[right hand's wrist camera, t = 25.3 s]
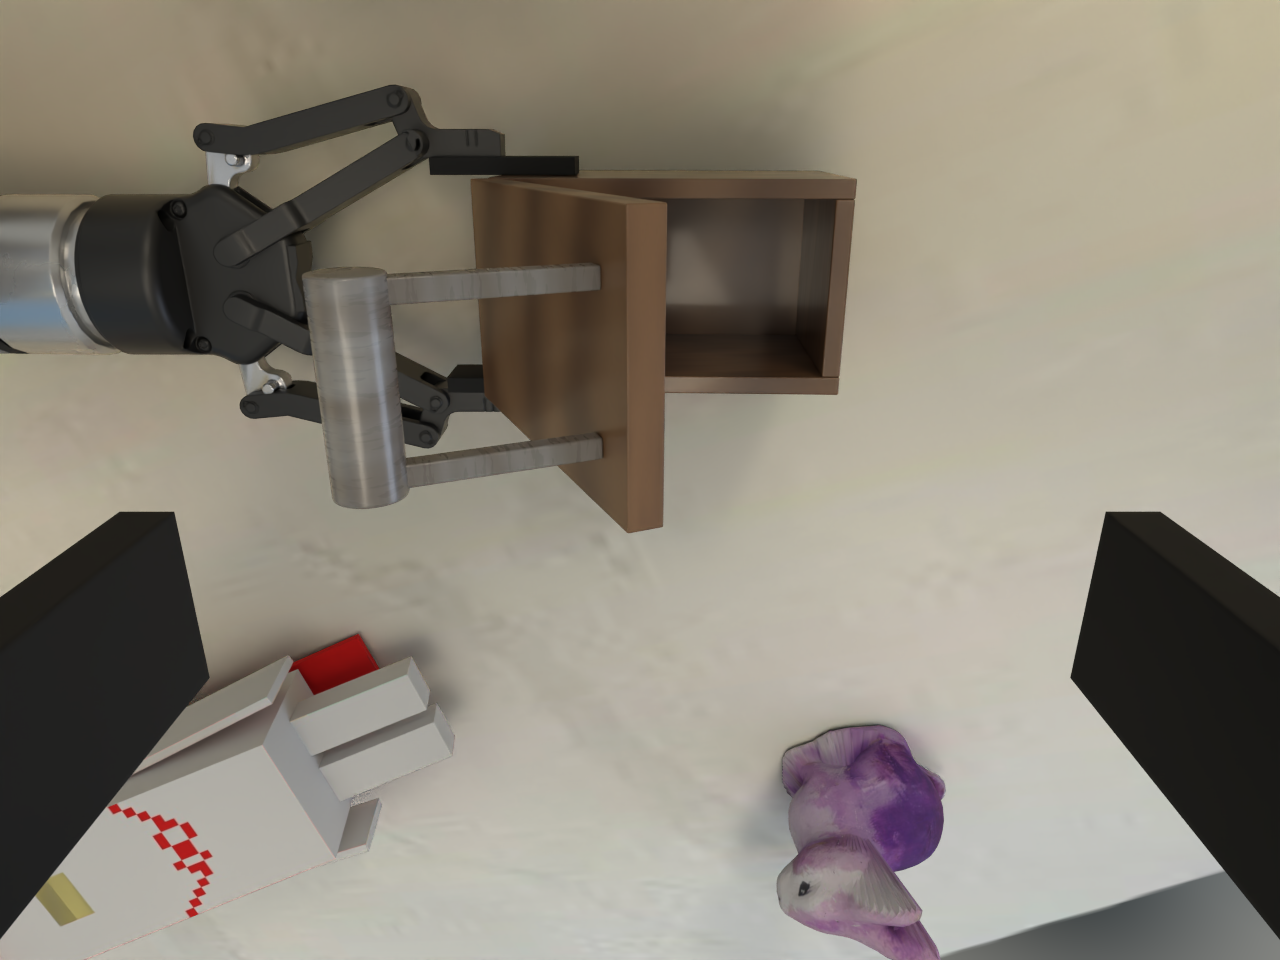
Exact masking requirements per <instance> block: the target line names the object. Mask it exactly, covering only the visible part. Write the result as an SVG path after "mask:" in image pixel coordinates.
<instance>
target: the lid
mask: <svg viewBox="0 0 1280 960" xmlns="http://www.w3.org/2000/svg"><path fill="white" fill-rule="evenodd" d="M471 195H472V210H473V226H474V241H475V256H476V269H470V270H452V271H435V272H417V273H400V274H387V272H386V271H385V270H382V269H379V268H370V267H339V268H326V269H318V270H313V271H309V272H306V273H304V274H303V275H302V282H303V290H304V297H305V304H306V311H307V318H308V326H309V333H310V340H311V347H312V355H313V362H314V369H315V376H316V383H317V391H318V398H319V405H320V412H321V420H322V427H323V434H324V441H325V448H326V456H327V463H328V470H329V477H330V484H331V492H332V499H333V500H334V502H335V503H336V504H338V505H340V506H342V507H346V508H353V509H369V508H377V507H383V506H387V505H390V504H393V503H396V502H398V501H400V500H402V499H403V498H405V497H406V496H407V495H408V493H409V488H412V487H419V486H425V485H432V484H438V483H445V482H452V481H458V480H465V479H471V478H478V477H485V476H491V475H498V474H504V473H511V472H518V471H524V470H531V469H537V468H544V467H551V466H558V467H559V468H560V469H561V470H562V471H563V472H564V473H565V474H566V475H568V476H569V477H570V478H571V479H572V480H573V481H574V482H575V483H576V484H577V485H578V486H579V487H580V488H581V489H582V490H583V491H584V492H585V493H586V494H587V495H588V496H589V497H590V498H591V499H593V500H594V501H595V502H596V503H597V504H598V505H599V506H600V507H601V508H602V509H603V510H604V511H605V512H606V513H607V514H608V515H609V516H610V517H611V518H612V519H613V520H614V521H615V522H616V523H618V524H619V525H620V526H621V527H622V528H623V529H624V530H625V531H626V532H627V533H633V532H638V531H643V530H649V529H654V528H659V527H663V491H664V411H665V332H666V252H667V203H666V202H660V201H653V200H646V199H639V198H632V197H625V196H618V195H611V194H604V193H597V192H590V191H583V190H576V189H569V188H562V187H555V186H548V185H541V184H534V183H527V182H520V181H513V180H506V179H499V178H481V179H471ZM468 299H478V301H479V317H480V332H481V347H482V362H483V377H484V392H485V397H486V398H487V399H488V400H489V401H490V402H492V403H493V404H494V405H495V406H496V407H497V408H498V409H499V410H500V411H501V412H502V413H503V414H504V415H505V416H506V417H507V418H508V419H509V420H510V421H511V422H512V423H513V424H514V425H515V426H517V427H518V428H519V429H520V430H521V431H522V432H523V433H524V434H525V435H526V436H527V437H528V438H529V439H530V440H531V441H527V442H519V443H512V444H505V445H498V446H490V447H483V448H476V449H469V450H461V451H454V452H447V453H440V454H433V455H425V456H418V457H411V458H406V452H405V442H404V432H403V423H402V413H401V403H400V394H399V384H398V374H397V364H396V355H395V345H394V335H393V326H392V316H391V306H390V305H397V304H411V303H425V302H440V301H454V300H468Z"/></svg>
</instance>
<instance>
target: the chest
mask: <svg viewBox="0 0 1280 960" xmlns="http://www.w3.org/2000/svg"><path fill="white" fill-rule="evenodd" d="M490 178H499V179H506V180H513V181H520V182H527V183H534V184H541V185H548V186H555V187H562V188H569V189H576V190H583V191H590V192H597V193H604V194H611V195H618V196H625V197H632V198H639V199H646V200H653V201H660V202H666V203H667V252H666V332H665V393H731V394H815V395H837V394H838V388H839V376H840V365H841V353H842V342H843V330H844V319H845V308H846V296H847V285H848V274H849V262H850V251H851V240H852V228H853V217H854V206H855V200H854V199H855V196H856V184H857V179H854V178H849V177H845V176H840V175H835V174H831V173H826V172H822V171H706V170H579V173H578V174H576V175H499V176H495V177H490Z"/></svg>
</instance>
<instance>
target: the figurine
mask: <svg viewBox="0 0 1280 960" xmlns="http://www.w3.org/2000/svg"><path fill="white" fill-rule="evenodd" d="M782 767H783V769H782V770H783V772H782V774H783V775H782V777H783V778H782V780H783V784H784V788H786V789H787V793H788V794H789V795H790V796H791V797H792V798H793V799H792V801H791V803H790V807H789V829H790V832H791V836H792V838H793V841H794V844H795V846H796V848H797V851H798V855H797V856H796V857H795V858H794V859H793V860H792V861H791V862H790V863H789V864H788V865H787V866H786V867H785V868H784V869H783V870H782V872H781V873H780V874H779V876H778V878H777V894H778V898H779V904H780V907H781V909H782V910H783V912H784V913H785V914H786V915H788V916H790V917H792V918H793V919H795V920H796V921H798V922H800V923H802V924H803V925H805V926H807V927H810V928H812V929H814V930H817V931H820V932H823V933H827V934H833V935H838V936H844V937H848V938H851V939H854V940H857V941H859V942H861V943H863V944H865V945H866V946H868V947H870V948H872V949H874V950H876V951H878V952H879V953H881V954H882V955H884V956H885V957H887V958H889V959H892V960H940V956H939V952H938V949H937V947H936V945H935V943H934V942H933V940H932V939H931V937H930V936H929V934H928V933H927V931H926V930H925V928H924V927H923V925H922V924H921V922H920V918H921V914H922V909H921V908H920V907H919V905H918V904H917V903H916V901H915V900H914V899H913V897H912V896H911V895H910V893H909V892H908V890H907V889H906V888H905V886H904V885H903V884H902V882H901V881H900V880H899V878H898V877H897V875H896V874H895V873H894V872H895V871H900V870H904V869H907V868H910V867H913V866H915V865H917V864H919V863H921V862H923V861H924V860H926V859H927V858H928V857H930V856H931V855H932V853H933V852H934V851H935V849H936V848H937V846H938V844H939V841H940V838H941V834H942V830H943V823H944V816H943V806H942V803H941V799H942V798H943V797H944V796H945V792H946V787H945V783H944V781H943V780H942V779H941V778H940V776H938V775H937V774H935V773H933V772H931V771H928V770H926V769H925V768H923V767H921V766H920V765H918V764H916V762H915V761H914V759H913V757H912V754H911V751H910V749H909V747H908V744H907V742H906V741H905V739H904V738H903V736H902V735H901V734H900V733H899V732H897V731H895V730H893V729H891V728H888V727H885V726H881V725H876V726H863V727H851V728H843V729H838V730H834V731H832V730H830V731H829V732H827V733H826V734H824V735H822V736H820V737H818V738H817V739H815V740H814V741H813V742H809V743H807V744H805V745H801V746H796V747H794V748H792V749H790V750H788V751H787V752H786V753H785V755H784V757H783V766H782Z"/></svg>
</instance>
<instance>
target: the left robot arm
mask: <svg viewBox="0 0 1280 960" xmlns="http://www.w3.org/2000/svg"><path fill="white" fill-rule="evenodd" d="M391 121H393V124H394V126H395V128H396V131H397V133H398V136H396V137H395V138H393V139H391V140H390V141H388V142H386V143H385V144H383V145H381V146H380V147H378V148H377V149H375V150H373V151H372V152H370V153H368V154H367V155H365V156H363V157H362V158H360V159H358V160H357V161H355V162H353V163H352V164H350V165H349V166H347V167H345V168H344V169H342V170H340V171H339V172H337V173H335V174H334V175H332V176H330V177H329V178H327V179H325V180H324V181H322V182H321V183H319V184H317V185H316V186H314V187H312V188H311V189H309V190H307V191H306V192H304V193H302V194H301V195H299V196H297V197H296V198H294V199H292V200H290V201H288V202H285V203H283V204H282V205H280V206H278V207H276V208H275V209H271V208H270V207H268V206H267V205H265V204H264V203H263V202H261V201H260V200H258V199H257V198H255V197H254V196H252V195H251V194H249V193H248V192H246V191H245V190H243V189H242V188H240V187H239V186H238V180H239V178H240V176H241V175H242V174H244V173H247V172H252V171H254V170H256V168H257V167H258V165H259V155H264V154H277V153H281V152H286V151H289V150H293V149H296V148H300V147H303V146H307V145H310V144H314V143H318V142H321V141H325V140H328V139H332V138H335V137H339V136H342V135H346V134H349V133H353V132H356V131H360V130H363V129H367V128H370V127H374V126H377V125H381V124H384V123H388V122H391ZM193 138H194V142H195V143H196V145H197V146H198V147H199V148H200V149H201V150H203V151H206V163H207V176H208V185H207V186H204V187H203V188H201V189H200V190H198V191H197V192H195V193H192V194H110V195H106V196H103V197H101V198H99V197H97V196H94V195H92V194H5V195H0V353H18V354H89V355H111V354H116V353H120V352H121V351H122V352H124V353H127V354H183V355H203V354H210V355H217V356H220V357H223V358H225V359H227V360H229V361H231V362H233V363H236V364H239V368H240V371H241V375H242V379H243V382H244V386H245V390H246V393H247V396H245V397H244V398H243V399H242V400H241V402H240V409H241V411H242V413H243V414H244V415H245V416H246V417H249V418H253V419H257V418H268V417H279V416H291V417H296V418H300V419H304V420H308V421H312V422H317V423H321V424H322V420H321V412H320V405H319V398H318V391H317V383H316V382H310V381H300V380H297V381H292V379H291V375H290V374H289V373H287V372H285V371H283V370H279V369H274V368H272V367H271V366H270V365H269V364H268V363H267V361H266V359H265V357H266V356H267V355H268V354H270V353H271V352H272V351H273V350H275V349H276V348H277V347H278V346H280V345H281V344H283V345H285V346H287V347H289V348H291V349H293V350H295V351H298V352H300V353H302V354H305V355H312V347H311V340H310V333H309V326H308V318H307V311H306V304H305V297H304V290H303V282H302V275H303V274H304V273H306V272H309V271H311V267H312V259H313V255H312V247H311V241H306V238H305V237H304V235H303V234H304V233H306V232H307V231H309V230H311V229H312V228H314V227H316V226H317V225H319V224H321V223H322V222H324V221H325V220H326V219H327V218H329V217H330V216H332V215H334V214H335V213H337V212H339V211H340V210H342V209H344V208H345V207H347V206H349V205H350V204H352V203H354V202H355V201H357V200H359V199H360V198H362V197H364V196H365V195H367V194H369V193H371V192H372V191H374V190H376V189H377V188H379V187H381V186H382V185H384V184H386V183H387V182H389V181H391V180H392V179H394V178H396V177H397V176H399V175H401V174H402V173H404V172H406V171H407V170H409V169H411V168H412V167H414V166H416V165H417V164H419V163H421V162H422V161H424V160H426V159H427V158H429V165H430V175H576V174H578V173H579V156H506V153H505V134H503V133H501V132H498V131H496V130H494V129H438V128H436V127H434V126H433V125H431V124H430V122H429V121H428V120H427V118H426V116H425V113H424V111H423V108H422V106H421V98H420V96H419V94H418V93H417V92H416V91H415V90H414V89H411V88H408V87H403V86H399V85H388V86H385V87H381V88H378V89H374V90H371V91H367V92H364V93H361V94H357V95H354V96H350V97H347V98H343V99H340V100H336V101H333V102H329V103H326V104H322V105H319V106H315V107H312V108H309V109H305V110H302V111H298V112H295V113H291V114H288V115H284V116H281V117H277V118H274V119H270V120H267V121H263V122H260V123H256V124H253V125H250V126H244V125H234V124H216V123H202V124H199V125H198V126H196V128H195V129H194V132H193ZM395 355H396V364H397V374H398V384H399V394H400V398H402V399H404V400H406V401H408V402H410V403H412V404H414V405H416V406H418V407H415V406H411V405H407V404H403V403H401V413H402V423H403V432H404V442H405V444H409V445H413V446H417V447H422V448H431V447H434V446H435V445H436V444H437V442H438V441H439V439H440V438H441V436H442V435H443V433H444V432H445V430H446V429H447V426H448V420H449V416H450V414H451V413H454V412H484V411H486V412H493V411H494V412H501V411H500V410H499V409H498V408H497V407H496V406H495V405H494V404H493V403H492V402H490V401H489V400H488V399H487V398H486V397H485V392H484V377H483V365H457V366H456V367H455V369H454V370H453V371H452V372H451V374H450V375H449V376H448V377H447V378H446V377H444V376H442V375H440V374H438V373H436V372H434V371H432V370H430V369H428V368H426V367H424V366H422V365H420V364H418V363H416V362H414V361H412V360H410V359H408V358H406V357H404V356H402V355H400V354H398V353H396V352H395ZM419 407H420V408H419Z"/></svg>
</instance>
